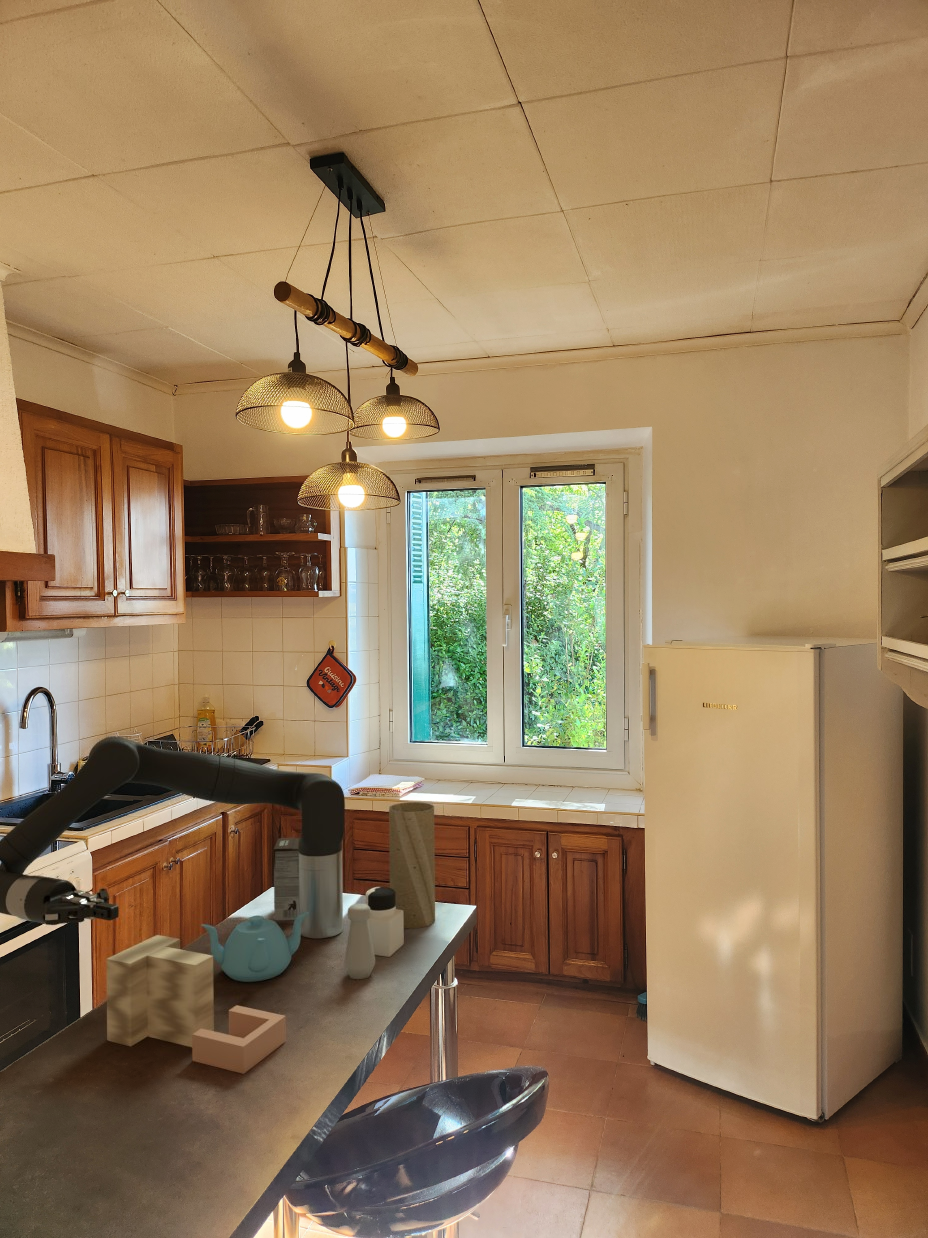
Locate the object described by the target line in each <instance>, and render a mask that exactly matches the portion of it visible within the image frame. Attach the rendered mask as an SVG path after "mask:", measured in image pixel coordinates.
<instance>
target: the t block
mask: <svg viewBox="0 0 928 1238" xmlns="http://www.w3.org/2000/svg"><path fill="white" fill-rule="evenodd" d="M214 996H215V995H214V958H213V956H212V954H206V953H202V952H195V951H191V950H185V949H181V939H180V938H177V937H172V936H171V937H170V936H165V935H160V934H156V935H154V936H152V937H150V938H148V939H146V940H143V941H141V942H140V943H137V944H135V945H133V946H131V947H129V948H127V949H124V950H122V951H120V952H118V953H116V954H114V955H112V956H109V957H107V958H106V1032H107V1033H106V1035H107V1036H106V1040H107V1041H109V1042H112V1043H116V1044H120V1045H122V1046H123V1045H124V1046H127V1047H132V1046H134V1045H135V1044H137V1043H140V1042H141V1041H142V1040H144V1039H145V1038H147V1037H149V1038H152V1039H153V1038H154V1039H158V1040H160V1041H165V1042H170V1043H173V1044H177V1045H181V1046H185V1047H189V1048H192V1034H194V1033H195V1032H197V1031H198V1030H200V1029H201V1028H202V1029H206V1030H210V1031H214V1032H215V1026H214V1025H215V1022H214V1021H215V1020H214V1019H215V1018H214V1017H215V1012H214V1011H215V1009H214V1005H215V1003H214Z"/></svg>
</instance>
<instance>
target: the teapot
mask: <svg viewBox="0 0 928 1238" xmlns="http://www.w3.org/2000/svg"><path fill="white" fill-rule="evenodd" d="M308 913H309V912H305V913H303V914H301V915H299V916H298V917H297V918H296V919H295V920H293V921H294V922H293V927H292V929H293V930H292V933H291V935H290V937H288V938H287V936H286V935H285V933H284V931H283V930H282V928H281V926H280V925H278V923H277V922H276V921H275V920H274V919H268V918H264V917H263V916H262V915H251V916H250V917H249V918H248V920H245V921H242V922H240V923H238V924H237V925H236V926H235V927H234V929H233V930H232V931H231V933H230V935H229V936H228V938H227V940H226V942H225V944H224V946H222V944H220V942H219V937H218V936H219V935H218V931H217V929H216V927H214V926H213V925H209V924H204V923H201V924H200V925H201V927H203V928H204V929H205V930H206V931H207V932H208V934H209V939H210V940H209V943H210V953H211V955H212V956H213V960H214V961H216V962H217V963H218V964H220V967H221V970H222V971H223V972H224V973H225V975H227V976H228V977H229V978H230V979H232V980H233V981H237V982H242V983H244V982H245V983H253V982H262V981H267V980H269V979H270V980H271V979H273V978H275V977H277V976H279V975H281V974H282V973H283V972H285V970H286V969H287V967H289V964H290V962H291V961H292V955H294V953H296V952H297V950H298V948H299V946H300V944H301V936H302V935H301V923H302V921H303V919H304V917H305V916H306V915H307V914H308Z"/></svg>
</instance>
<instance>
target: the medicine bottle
mask: <svg viewBox="0 0 928 1238" xmlns="http://www.w3.org/2000/svg"><path fill="white" fill-rule="evenodd" d="M365 904H366V905H368V906H369V907H370V910H371V914H370V918H369V919H368V924H369V930H370V935H371V940H372V945H373V950H374V956H379V957H380V956H381V957H389V958H390V957H391V956H392V955H394V953H396V952H397V951H398V950H399V949H400V948H402V946H403V945H404V943H405V939H404V938H405V937H404V935H405V933H404V932H405V931H404V930H405V928H404V918H403V910H398V909H396V892H395V891H394V890H393V889H391V888H390V887H387V886H376V887H372V888H369V889H368V890H367V891H366V892H365Z"/></svg>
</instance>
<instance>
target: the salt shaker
mask: <svg viewBox="0 0 928 1238" xmlns="http://www.w3.org/2000/svg"><path fill="white" fill-rule="evenodd" d="M370 914H371V910H370V907H369V906H368V905H366V903H354V904H352V905H350V906H349V907H348V909H347V918H348V920H349V921H350V923H349V930H348V936H347V942H346V951H345V956H344V968H345V970H346V971H347V974H348V975H349V978H350V979H351V980H352V979H353V980H359V979H360V980H365V979H369V977H370V975H371V974H372V972H373V969H374V967H375V965H376V955H374V950H373V945H372V940H371V935H370V930H369V924H368V919H369V918H370Z"/></svg>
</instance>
